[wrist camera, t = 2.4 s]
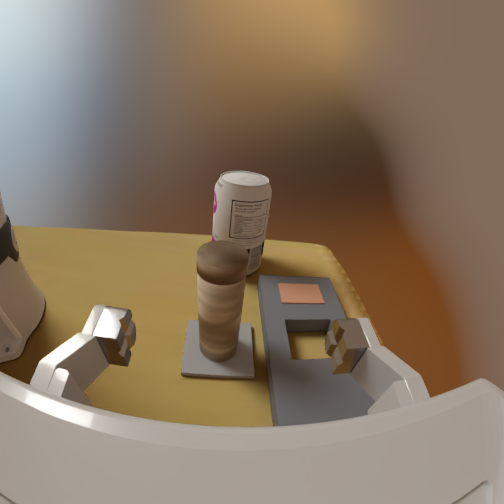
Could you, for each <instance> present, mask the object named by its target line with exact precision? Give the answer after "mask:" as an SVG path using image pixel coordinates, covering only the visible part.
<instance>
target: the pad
mask: <svg viewBox="0 0 504 504" xmlns="http://www.w3.org/2000/svg"><path fill="white" fill-rule="evenodd" d="M181 375H185V376H197V377H212V378H238V379H254V377H255V374H254V361H253V348H252V334H251V323H240V330H239V338H238V346H237V352H236V354H235V355H234V356H233V357H232V358H231V359H229V360H227V361H223V362H215V361H211V360H209V359H207V358H206V357H205V356H204V355H203V354H202V353H201V351H200V343H199V321H196V320H188V324H187V331H186V338H185V345H184V352H183V360H182V368H181Z"/></svg>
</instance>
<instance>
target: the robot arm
mask: <svg viewBox="0 0 504 504" xmlns="http://www.w3.org/2000/svg"><path fill="white" fill-rule="evenodd" d="M44 307H45V300H44V296H43V294H42V292H41V291H40V289H39V288H38V287H37V286H36V285H35V283H34V282H33V281H32V279H31V278H30V276H29V274H28V273H27V271H26V269H25V267H24V265H23V263H22V261H21V259H20V257H19V248H18V245H17V241H16V238H15V234H14V231H13V228H12V225H11V223H10V220H9V217H8V216H7V215H6V214H5V212H4V207H3V203H2V198H1V193H0V363H1V362H5V361H9V360H13V359H16V358H18V357H19V356H20V355H21V353H22V351H23V349H24V346H25V343H26V340H27V339H28V337H29V336H30V334H31V333H32V332H33V331H34V329H35V328H36V327H37V325H38V323H39V322H40V320H41V317H42V315H43V312H44ZM131 318H132V313H131V310H129V309H124V308H118V307H111V306H104V305H98V304H97V305H95V306H94V308H93V310H92V312H91V314H90V316H89V318H88V320H87V322H86V324H85V326H84V328H83V331H82V333H77V334H76V335H74V336H73V337H72V338H70V339H69V340H67V341H66V342H65V343H63V344H62V345H60V346H59V347H58V348H56V349H55V350H54V351H52V352H51V353H49V354H48V355H47V356H45V357H44V358H43V359H41V360H40V361H39V364H38V366H37V368H36V370H35V373H34V375H33V377H32V380H31V382H30V385H28V384H26V383H24V382H21V381H19V380H17V379H15V378H13V377H10V376H8V375H6V374H4V373H2V372H0V504H504V392H503V391H502V390H501V389H499V388H498V387H497V386H495V385H494V384H493V383H491V382H489V381H488V380H486V379H482V378H481V379H478V380H475V381H473V382H471V383H469V384H466V385H464V386H461V387H459V388H456V389H454V390H451V391H449V392H446V393H443V394H440V395H438V396H435V397H432V398H430V396H429V394H428V391H427V389H426V387H425V384H424V382H423V380H422V377H421V375H420V374H418V373H417V372H416V371H415V370H413V369H412V368H411V367H410V366H408V365H407V364H406V363H404V362H403V361H402V360H401V359H399V358H398V357H397V356H396V355H394V354H393V353H392V352H391V351H389V350H388V349H387V348H385V347H384V346H381V345H380V343H379V341H378V339H377V336H376V334H375V332H374V330H373V328H372V326H371V323H370V321H369V319H367V318H356V319H355V318H349V319H334V320H333V321H332V323H331V328H332V329H331V330H330V331H329V332H327V335H326V337H325V350H326V353H327V354H328V355H329V356H330V357H331V359H330V361H329V365H330V368H331V372H332V375H334V374H348V373H350V375H351V376H352V377H353V378H354V379H355V380H356V381H357V382H358V383H359V385H360V386H361V387H362V388H363V389H364V390H365V391H366V392H367V393H368V394H369V395H370V396H371V398H372V399H373V400H374V401H375V403H374V404H373V405H372V406H371V407H370V408H369V409H368V411H367V412H368V415H364V416H359V417H354V418H348V419H342V420H336V421H329V422H321V423H312V424H302V425H290V426H273V427H220V426H203V425H191V424H181V423H172V422H164V421H158V420H151V419H145V418H139V417H134V416H129V415H124V414H120V413H115V412H111V411H107V410H103V409H99V408H95V407H91V401H90V399H89V398H88V397H87V396H86V394H85V393H84V392H83V391H84V390H85V389H86V388H87V387H88V386H89V385H90V384H91V383H92V382H93V381H94V380H95V379H96V378H97V377H98V376H99V375H100V374H101V373H102V372H103V371H104V370H105V369H106V368H107V367H108V366H109V364H113V365H120V366H126V367H128V364H129V361H130V357H131V351H130V348H131V347H132V346H134V343H135V340H136V327H135V323H134V322H133V321H131Z"/></svg>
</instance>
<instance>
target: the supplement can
mask: <svg viewBox="0 0 504 504" xmlns="http://www.w3.org/2000/svg"><path fill="white" fill-rule="evenodd" d="M271 194H272V191H271V187H270V184H269V179H268V178H267V177H265V176H263V175H261V174H257V173H254V172H248V171H229V172H225V173H223V174H221V176H220V179H219V180H218V182H217V183H216V186H215V196H214V214H213V235H212V241H218V240H223V241H231V242H234V243H237V244H239V245H241V246H243V247H244V248H245V249H246V250H247V251H248V253H249V262H248V270H247V275H249V274H251V273H253V272H255V271H256V270H258V268H259V267H260V265H261V259H262V253H263V246H264V240H265V233H266V227H267V220H268V213H269V207H270V200H271Z"/></svg>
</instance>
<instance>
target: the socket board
mask: <svg viewBox="0 0 504 504" xmlns="http://www.w3.org/2000/svg"><path fill="white" fill-rule="evenodd" d="M258 296H259V305H260V313H261V322H262V331H263V340H264V349H265V358H266V367H267V376H268V385H269V394H270V403H271V412H272V421H273V426H290V425H302V424H312V423H321V422H329V421H336V420H342V419H348V418H354V417H359V416H364V415H368V412H367V411H368V409H369V408H370V407H371V406H372V405H373V404H374V403H375V401H374V400H373V399H372V398H371V396H370V395H369V394H368V393H367V392H366V391H365V390H364V389H363V388H362V387H361V386H360V385H359V383H358V382H357V381H356V380H355V379H354V378H353V377H352V376H351V375H350V373H348V374H334V375H332V372H331V368H330V365H329V361H330V359H331V358H325V359H306V360H292V357H291V351H290V346H289V341H288V336H287V332H317V331H325V332H326V335H327V332H329V331H330V330H331V329H332V328H331V323H332V321H333V320H334V319H347V318H346V316H345V313H344V311H343V309H342V306H341V304H340V302H339V299H338V297H337V294H336V292H335V290H334V288H333V285H332V283H331V281H330V278H323V277H298V276H276V275H259V281H258Z"/></svg>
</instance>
